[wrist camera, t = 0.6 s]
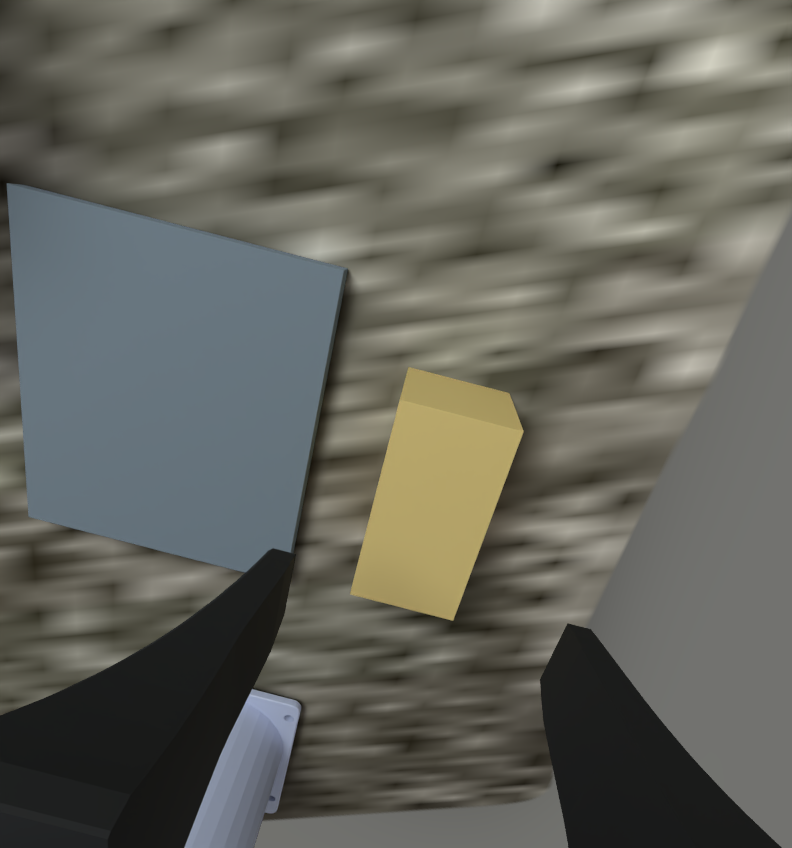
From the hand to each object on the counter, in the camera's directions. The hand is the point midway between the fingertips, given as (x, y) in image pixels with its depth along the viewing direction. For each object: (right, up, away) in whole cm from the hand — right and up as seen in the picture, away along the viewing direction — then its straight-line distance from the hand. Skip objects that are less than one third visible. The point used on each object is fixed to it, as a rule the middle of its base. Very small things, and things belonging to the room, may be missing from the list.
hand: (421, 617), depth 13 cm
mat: (-10, +6, +8) cm, 14 cm away
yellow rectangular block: (+1, +3, +8) cm, 9 cm away
